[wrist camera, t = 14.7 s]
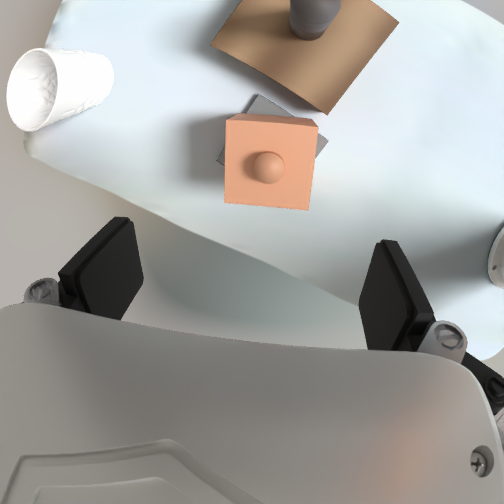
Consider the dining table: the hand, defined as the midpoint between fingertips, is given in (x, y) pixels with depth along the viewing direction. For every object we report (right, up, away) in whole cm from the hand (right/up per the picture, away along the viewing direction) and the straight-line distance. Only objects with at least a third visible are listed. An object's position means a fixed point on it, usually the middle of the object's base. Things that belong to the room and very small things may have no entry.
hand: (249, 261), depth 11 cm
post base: (+5, +21, +10) cm, 24 cm away
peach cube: (+2, +10, +17) cm, 20 cm away
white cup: (-18, +20, +14) cm, 30 cm away
